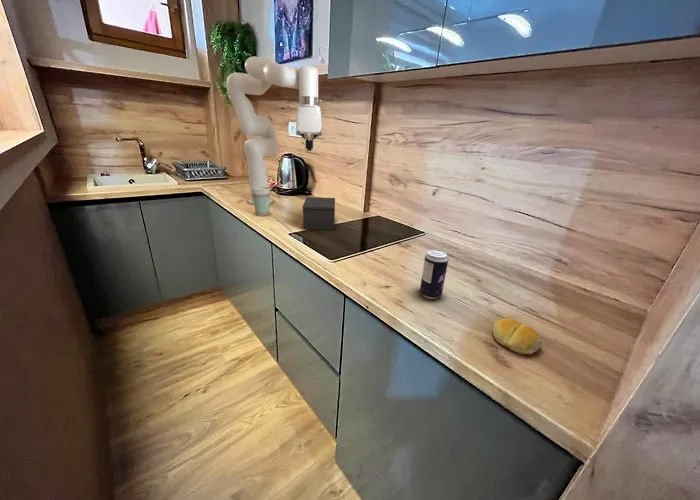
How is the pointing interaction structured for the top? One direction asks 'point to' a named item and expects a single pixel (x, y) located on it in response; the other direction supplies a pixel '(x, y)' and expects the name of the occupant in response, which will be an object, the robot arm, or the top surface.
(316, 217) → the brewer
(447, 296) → the top surface
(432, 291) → the beverage can
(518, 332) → the bread roll
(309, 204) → the lid
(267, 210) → the coffee cup
